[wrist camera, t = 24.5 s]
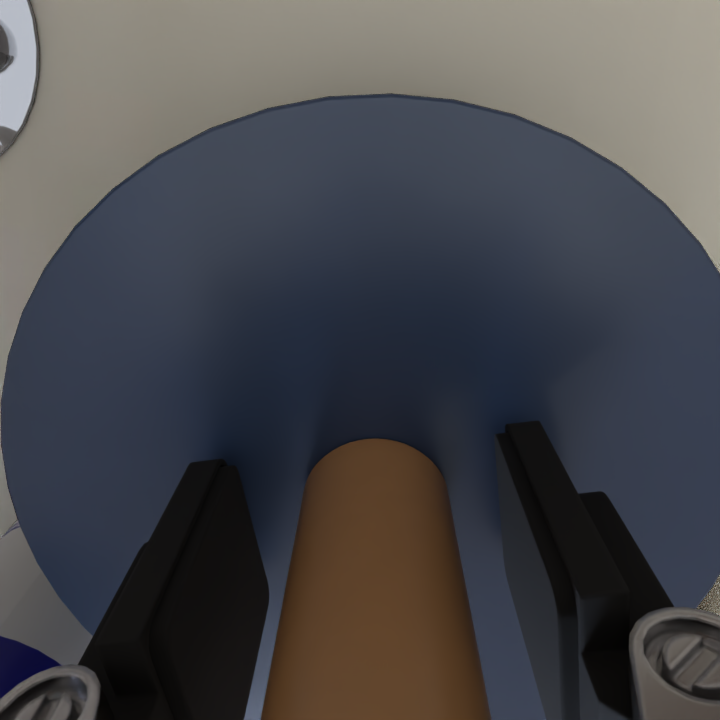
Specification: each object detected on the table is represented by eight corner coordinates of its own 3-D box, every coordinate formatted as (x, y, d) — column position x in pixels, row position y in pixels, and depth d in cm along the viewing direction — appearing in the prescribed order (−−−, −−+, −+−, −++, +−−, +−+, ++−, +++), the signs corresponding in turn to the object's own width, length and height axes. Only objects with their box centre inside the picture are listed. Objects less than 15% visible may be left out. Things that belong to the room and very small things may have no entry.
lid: (267, 772, 15) (197, 1203, 9) (-120, 335, 11) (-718, 607, 5) (806, 580, 13) (1201, 1010, 7) (574, -94, 8) (1087, -618, 2)
